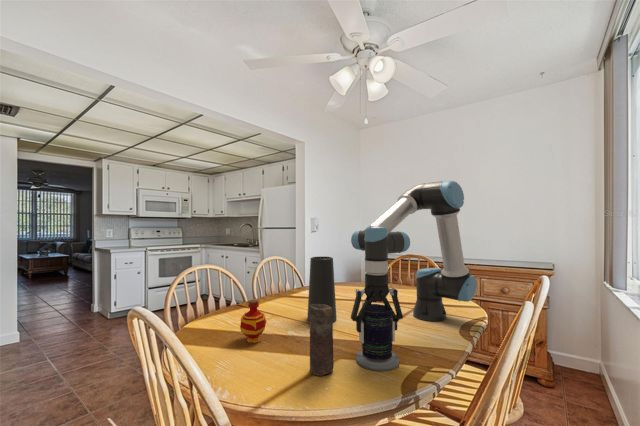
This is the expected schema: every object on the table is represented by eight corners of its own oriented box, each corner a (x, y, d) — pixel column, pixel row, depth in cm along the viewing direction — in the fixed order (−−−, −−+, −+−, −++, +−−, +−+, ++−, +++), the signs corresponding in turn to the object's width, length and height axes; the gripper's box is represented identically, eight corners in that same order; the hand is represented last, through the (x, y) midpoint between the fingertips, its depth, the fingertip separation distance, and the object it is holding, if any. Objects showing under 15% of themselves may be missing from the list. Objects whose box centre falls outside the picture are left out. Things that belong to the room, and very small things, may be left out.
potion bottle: (271, 336, 122) (271, 299, 123) (258, 346, 113) (258, 305, 113) (248, 333, 126) (248, 297, 126) (233, 343, 116) (233, 303, 116)
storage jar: (386, 363, 94) (385, 314, 95) (357, 356, 100) (356, 309, 100) (396, 351, 103) (396, 306, 103) (369, 345, 108) (368, 302, 108)
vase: (302, 322, 140) (302, 258, 141) (314, 313, 153) (314, 255, 154) (330, 325, 135) (330, 260, 136) (340, 316, 148) (340, 256, 149)
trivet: (389, 350, 109) (389, 347, 109) (406, 369, 95) (406, 365, 95) (351, 353, 107) (351, 349, 107) (362, 372, 93) (362, 368, 93)
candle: (309, 365, 98) (309, 302, 99) (331, 364, 99) (331, 301, 99) (310, 377, 90) (310, 309, 91) (335, 376, 91) (334, 308, 92)
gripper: (404, 270, 107) (404, 335, 106) (340, 272, 104) (341, 338, 103) (413, 274, 100) (414, 343, 99) (345, 276, 97) (346, 347, 96)
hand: (377, 340), depth 101 cm, fingers closed on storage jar, 10 cm apart
